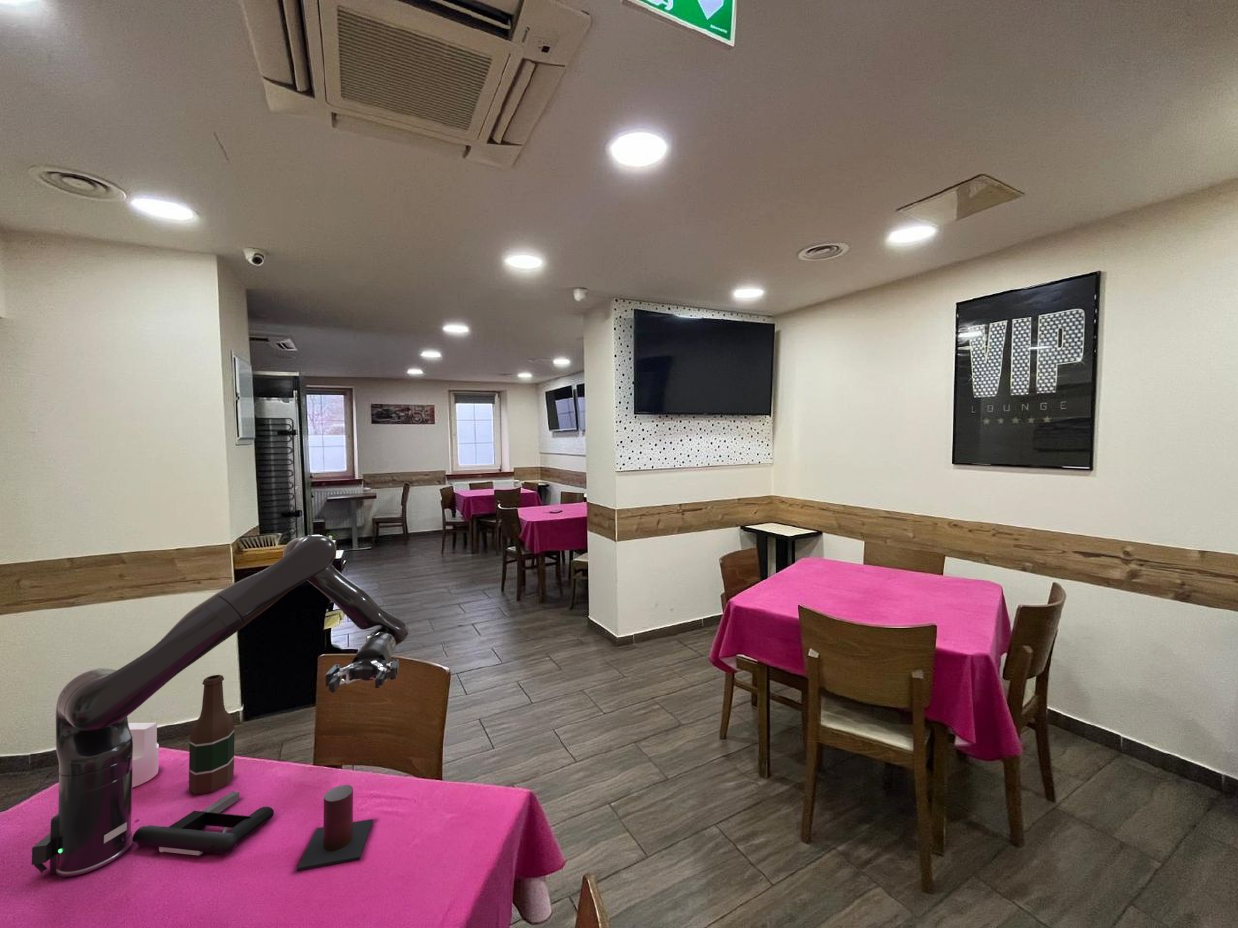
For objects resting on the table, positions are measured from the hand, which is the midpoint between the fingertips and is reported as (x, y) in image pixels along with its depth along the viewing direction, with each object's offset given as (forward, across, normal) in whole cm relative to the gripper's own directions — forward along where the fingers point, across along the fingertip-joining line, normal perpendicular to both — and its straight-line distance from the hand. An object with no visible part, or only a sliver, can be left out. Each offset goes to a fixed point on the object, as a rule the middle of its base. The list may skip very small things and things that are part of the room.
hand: (355, 685), depth 103 cm
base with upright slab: (-23, -52, +25) cm, 62 cm away
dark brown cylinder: (+11, 0, +24) cm, 27 cm away
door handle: (0, -25, +25) cm, 35 cm away
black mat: (+11, 0, +25) cm, 27 cm away
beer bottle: (-16, -33, +25) cm, 44 cm away
